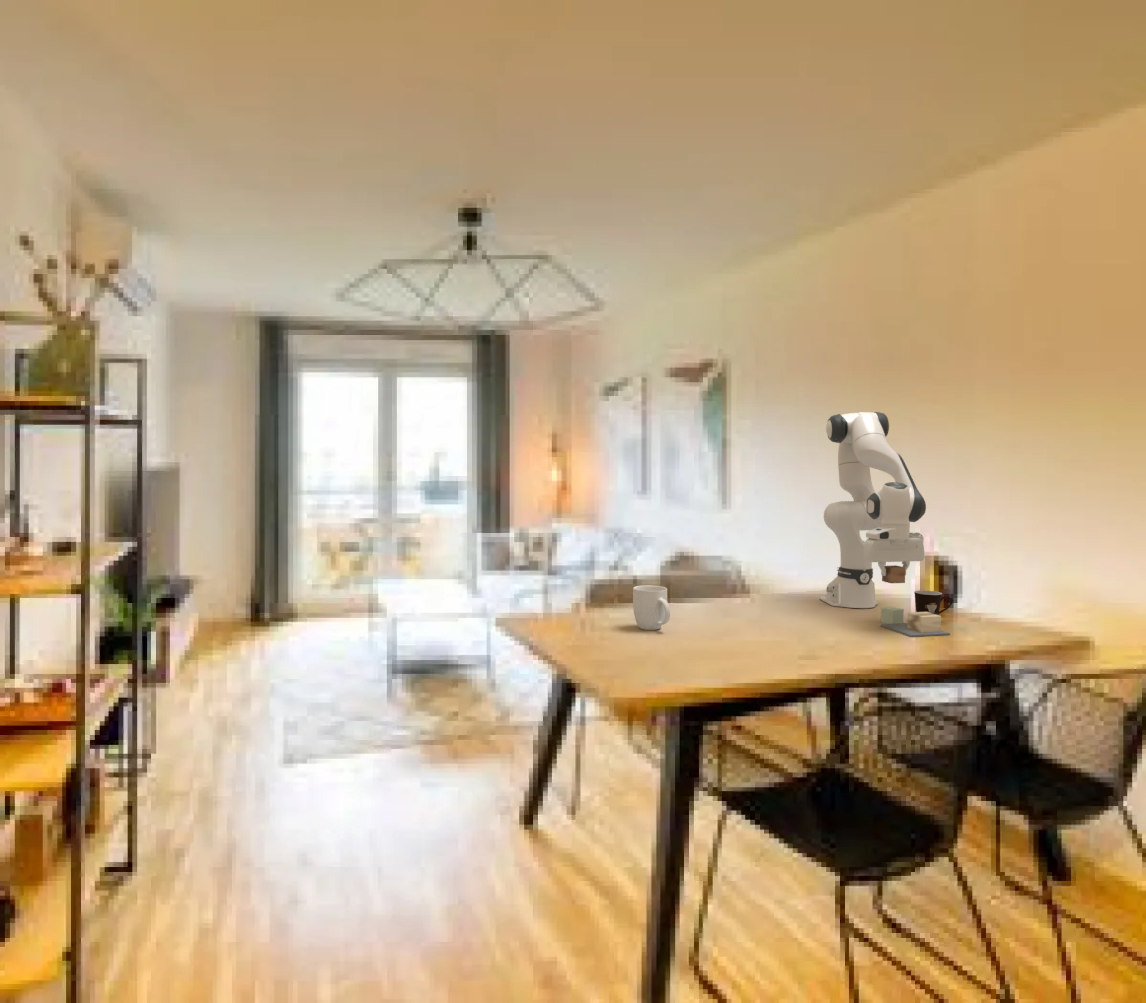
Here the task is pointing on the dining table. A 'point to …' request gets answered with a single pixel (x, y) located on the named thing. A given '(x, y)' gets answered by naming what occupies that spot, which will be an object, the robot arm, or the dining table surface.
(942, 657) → the dining table surface
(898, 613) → the sage block
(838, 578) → the robot arm
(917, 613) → the base block
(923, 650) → the dining table surface
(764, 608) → the dining table surface
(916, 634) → the mat
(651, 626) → the mug
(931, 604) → the coffee mug
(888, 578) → the walnut block
